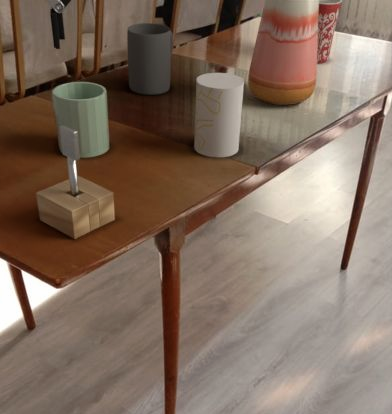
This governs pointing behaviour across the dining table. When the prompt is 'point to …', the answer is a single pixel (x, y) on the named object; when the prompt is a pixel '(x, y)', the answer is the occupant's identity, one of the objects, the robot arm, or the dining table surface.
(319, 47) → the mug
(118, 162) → the dining table surface
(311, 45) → the vase
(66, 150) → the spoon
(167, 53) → the mug
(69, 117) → the mint green mug
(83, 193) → the spoon stand
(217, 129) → the white cylinder
